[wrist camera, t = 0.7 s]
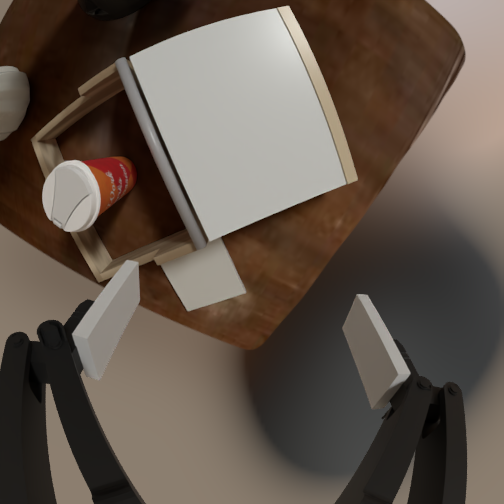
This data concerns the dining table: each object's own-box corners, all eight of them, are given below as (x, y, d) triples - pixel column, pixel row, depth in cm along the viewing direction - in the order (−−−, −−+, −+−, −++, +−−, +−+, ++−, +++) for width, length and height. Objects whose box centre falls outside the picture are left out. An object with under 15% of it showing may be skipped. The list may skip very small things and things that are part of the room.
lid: (129, 69, 28) (112, 62, 23) (286, 7, 25) (291, -9, 20) (202, 235, 38) (195, 251, 33) (355, 180, 35) (370, 188, 30)
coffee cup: (129, 210, 40) (80, 249, 27) (91, 184, 38) (32, 212, 25) (154, 164, 38) (106, 185, 24) (112, 138, 36) (52, 148, 22)
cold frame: (49, 136, 34) (18, 141, 27) (145, 69, 31) (123, 57, 24) (111, 268, 45) (90, 292, 37) (213, 225, 42) (205, 247, 34)
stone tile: (157, 256, 44) (156, 258, 43) (219, 232, 42) (218, 234, 42) (188, 309, 48) (187, 311, 47) (246, 290, 46) (246, 292, 46)
